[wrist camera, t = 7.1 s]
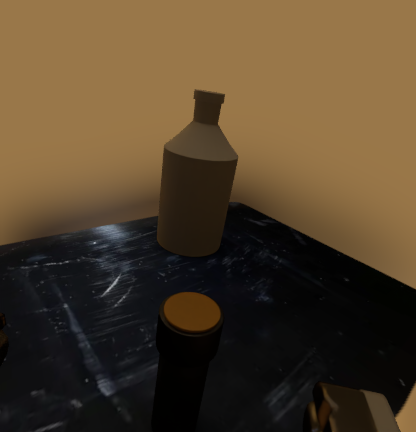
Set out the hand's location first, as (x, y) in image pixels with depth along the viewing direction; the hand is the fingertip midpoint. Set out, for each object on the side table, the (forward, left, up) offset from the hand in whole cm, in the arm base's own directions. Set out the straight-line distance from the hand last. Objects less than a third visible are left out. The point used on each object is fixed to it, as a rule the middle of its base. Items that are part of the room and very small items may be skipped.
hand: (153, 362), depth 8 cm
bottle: (+21, +40, -20) cm, 50 cm away
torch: (+7, +10, -20) cm, 23 cm away
